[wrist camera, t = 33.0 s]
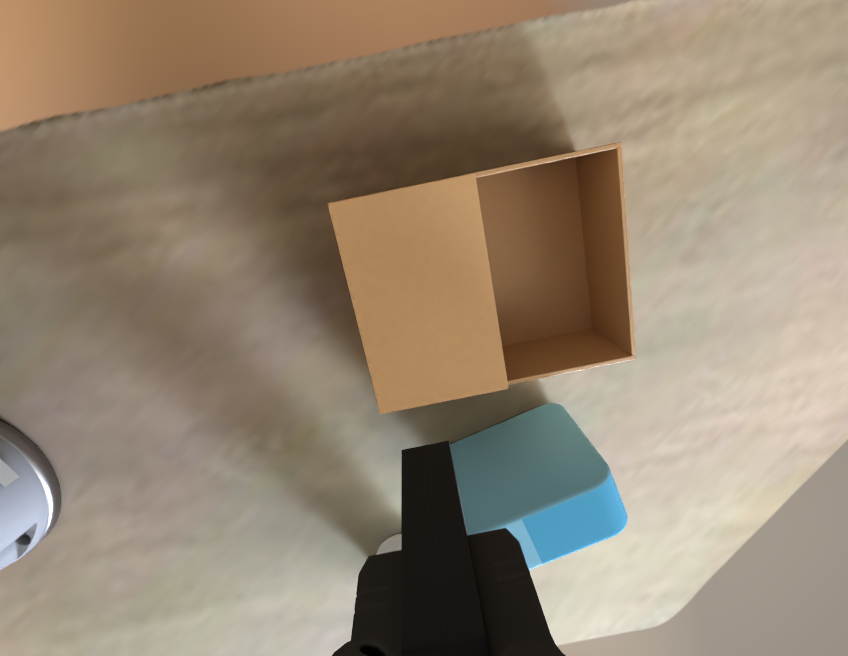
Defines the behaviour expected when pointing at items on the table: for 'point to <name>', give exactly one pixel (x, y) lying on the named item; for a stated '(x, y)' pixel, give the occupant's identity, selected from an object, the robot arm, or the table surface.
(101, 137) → the table surface
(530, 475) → the light blue flat block
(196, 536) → the table surface
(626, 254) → the carton
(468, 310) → the flap
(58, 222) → the table surface
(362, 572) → the robot arm
